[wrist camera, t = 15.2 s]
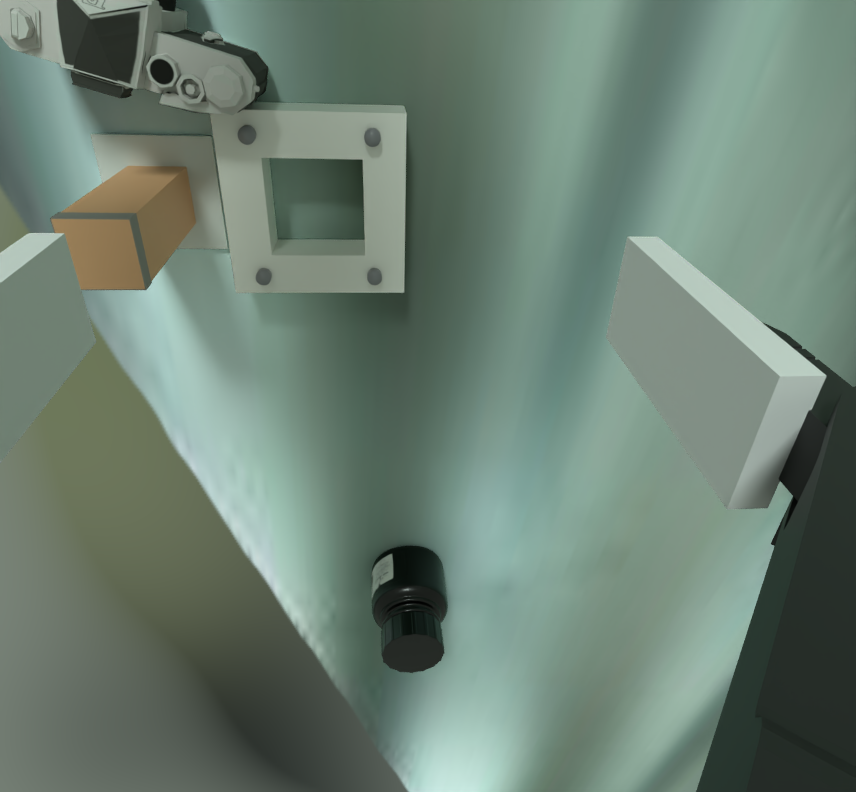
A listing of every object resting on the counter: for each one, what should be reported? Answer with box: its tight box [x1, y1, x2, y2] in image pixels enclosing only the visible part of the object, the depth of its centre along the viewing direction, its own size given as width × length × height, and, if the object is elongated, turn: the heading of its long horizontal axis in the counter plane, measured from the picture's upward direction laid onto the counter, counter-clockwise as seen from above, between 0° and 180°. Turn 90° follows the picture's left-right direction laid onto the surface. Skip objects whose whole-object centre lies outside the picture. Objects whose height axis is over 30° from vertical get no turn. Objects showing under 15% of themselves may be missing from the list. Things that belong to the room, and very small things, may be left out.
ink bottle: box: [372, 546, 448, 673], centre depth 72 cm, size 10×9×12 cm
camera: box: [0, 0, 268, 115], centre depth 40 cm, size 16×9×10 cm, turn 73°
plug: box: [50, 166, 196, 290], centre depth 44 cm, size 5×5×14 cm
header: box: [210, 102, 407, 293], centre depth 49 cm, size 14×14×5 cm
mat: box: [90, 134, 228, 249], centre depth 50 cm, size 9×9×1 cm
